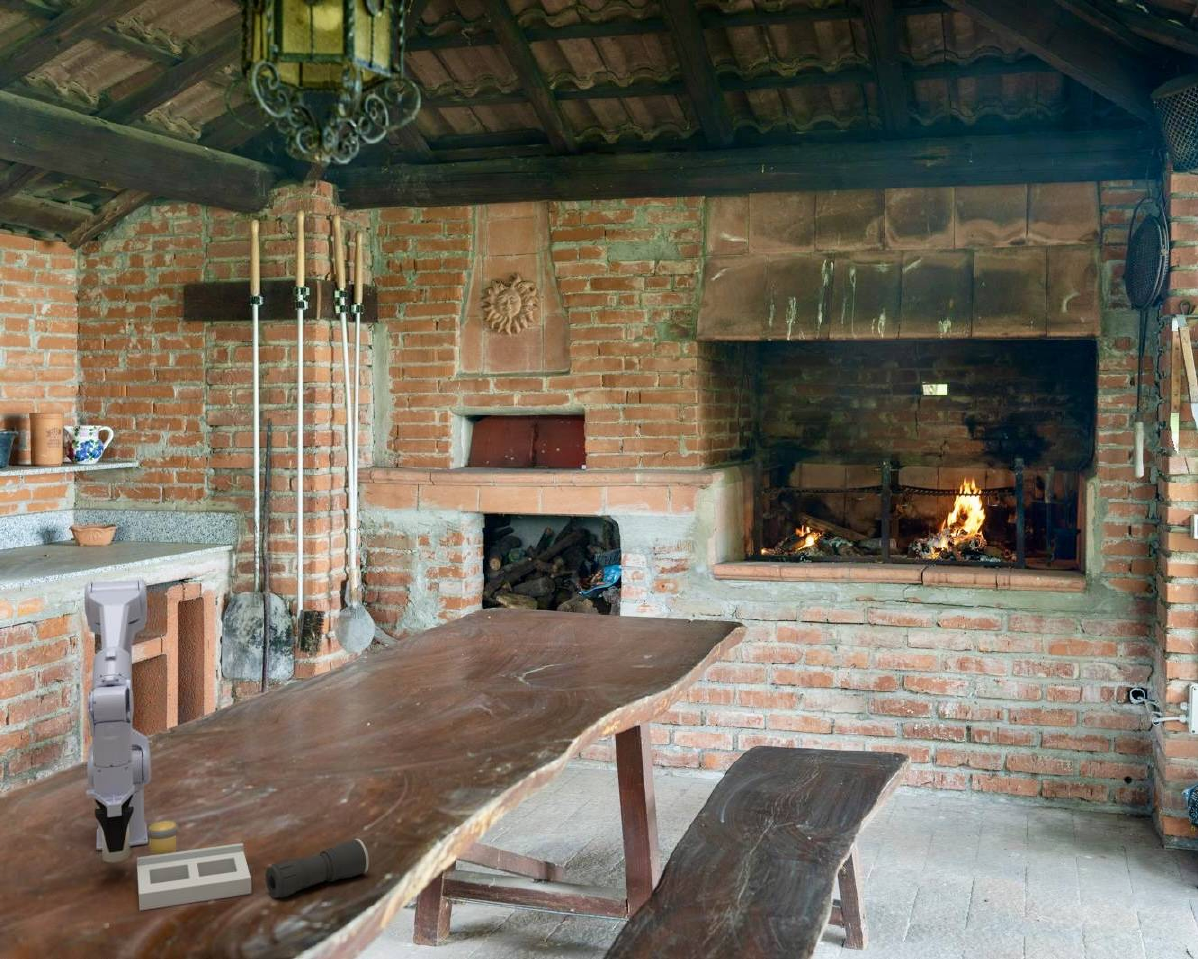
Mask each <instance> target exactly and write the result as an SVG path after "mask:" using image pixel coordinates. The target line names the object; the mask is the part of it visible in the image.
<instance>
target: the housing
mask: <svg viewBox="0 0 1198 959" xmlns="http://www.w3.org/2000/svg"><path fill="white" fill-rule="evenodd" d="M136 872H137V874H136V875H137V889H138V890H137V892H138V905H139V908H138V909H139V911H146V910H151V909H152V910H153V909H157V908H165V907H173V906H179V905H184V904H185V905H186V904H191V903H197V902H198V903H199V902H204V901H205V902H206V901H211V900H216V899H217V900H218V899H225V898H230V897H238V896H245V895H251V894H252V877H251V873H250V869H249V867H248V863H247V859H246V855H245V852H244V843H243V842H240V843H233V844H227V845H218V846H217V845H216V846H211V847H203V848H197V849H196V848H195V849H188V850H182V851H176V852H173V853H166V854H159V855H151V856H150V855H146V856H139V857H138V856H137V857H136Z"/></svg>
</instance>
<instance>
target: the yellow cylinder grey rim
mask: <svg viewBox="0 0 1198 959" xmlns="http://www.w3.org/2000/svg"><path fill="white" fill-rule="evenodd" d="M178 826H179V825H178V823H177V822H176V821H171V820H165V821H157V822H153V823H152V824H149V825H148V826H147V836H148V838H149V839H148V843H149V856H151V855H159V854H166V853H173V852H177V835H178V834H179V833H178V830H179V828H178Z"/></svg>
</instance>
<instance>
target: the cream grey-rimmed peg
mask: <svg viewBox="0 0 1198 959" xmlns="http://www.w3.org/2000/svg"><path fill="white" fill-rule="evenodd" d="M130 821H131V818H130V820H129V823H130ZM129 823H128V826H127V831H126V838H125V844H124V849H123V851H119V852H111V853H109V851H108V848H107V845H106V841H105V836H104V832H103V829H102V850H101V851H102V852H101V853H102V861H104V862H107V863H118V862H122V861H125V860H127V859H129V858H130V857H131V856H130V855H131V853H130V852H131V851H130V850H131V849H130V848H131V846H130V845H129ZM99 824H100V823H99V822H98V825H99ZM100 826H101V825H100Z"/></svg>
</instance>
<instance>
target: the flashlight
mask: <svg viewBox="0 0 1198 959" xmlns="http://www.w3.org/2000/svg"><path fill="white" fill-rule="evenodd" d="M369 863H370V862H369V854H368V850H367V847H366V845H365V844H364V842H363V841H362V840H361V839H359V838H354V839H352V840H351V839H350V840H349V841H344V842H342V843H341V842H340V843H338V844H336V845H335V846H333V847H329V848H326V849H322V851H320V853H319V854H314V855H311V856H307V857H304V858H297V859H295V860H293V859H292V860H289V861H288V860H282V861H279V862H274V863H273V864H272V865H271V866H268V867H267V869H266V872H265V882H266V887H267V890H268V892H269V894H270V896H271V897H273V899H276V898H279V899H283V898H286V897H289V896H292V895H294V894H295V893H296V892H299V891H301V890H304V889H308V888H309V887H311V886H314V885H317V884H320V883H324V882H325V881H327V882H328V883H331V882H335V881H338V880H340V879H349V878H350V879H351V878H353V877H355V876H359V875H363V874H365V873H366V872H367V871H368V870H369Z"/></svg>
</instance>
